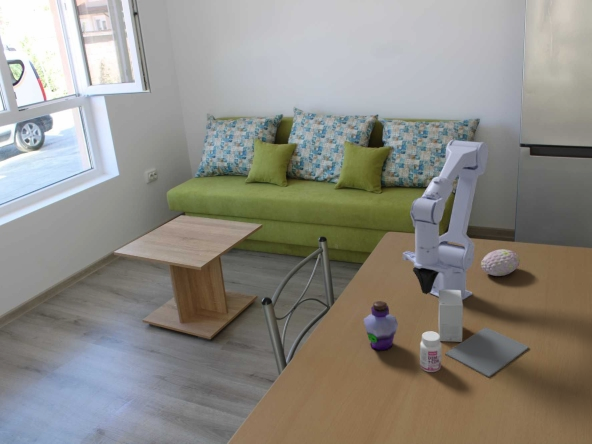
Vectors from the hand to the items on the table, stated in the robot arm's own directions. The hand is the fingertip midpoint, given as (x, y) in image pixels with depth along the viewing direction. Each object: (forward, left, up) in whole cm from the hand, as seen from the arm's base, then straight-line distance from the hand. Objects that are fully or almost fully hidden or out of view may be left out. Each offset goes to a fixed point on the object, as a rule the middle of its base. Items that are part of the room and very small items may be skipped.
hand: (426, 292), depth 143 cm
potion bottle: (-1, -16, -9) cm, 18 cm away
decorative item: (-2, +36, -9) cm, 37 cm away
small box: (+7, 0, -9) cm, 12 cm away
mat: (+18, 0, -9) cm, 20 cm away
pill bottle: (+13, -14, -9) cm, 21 cm away
